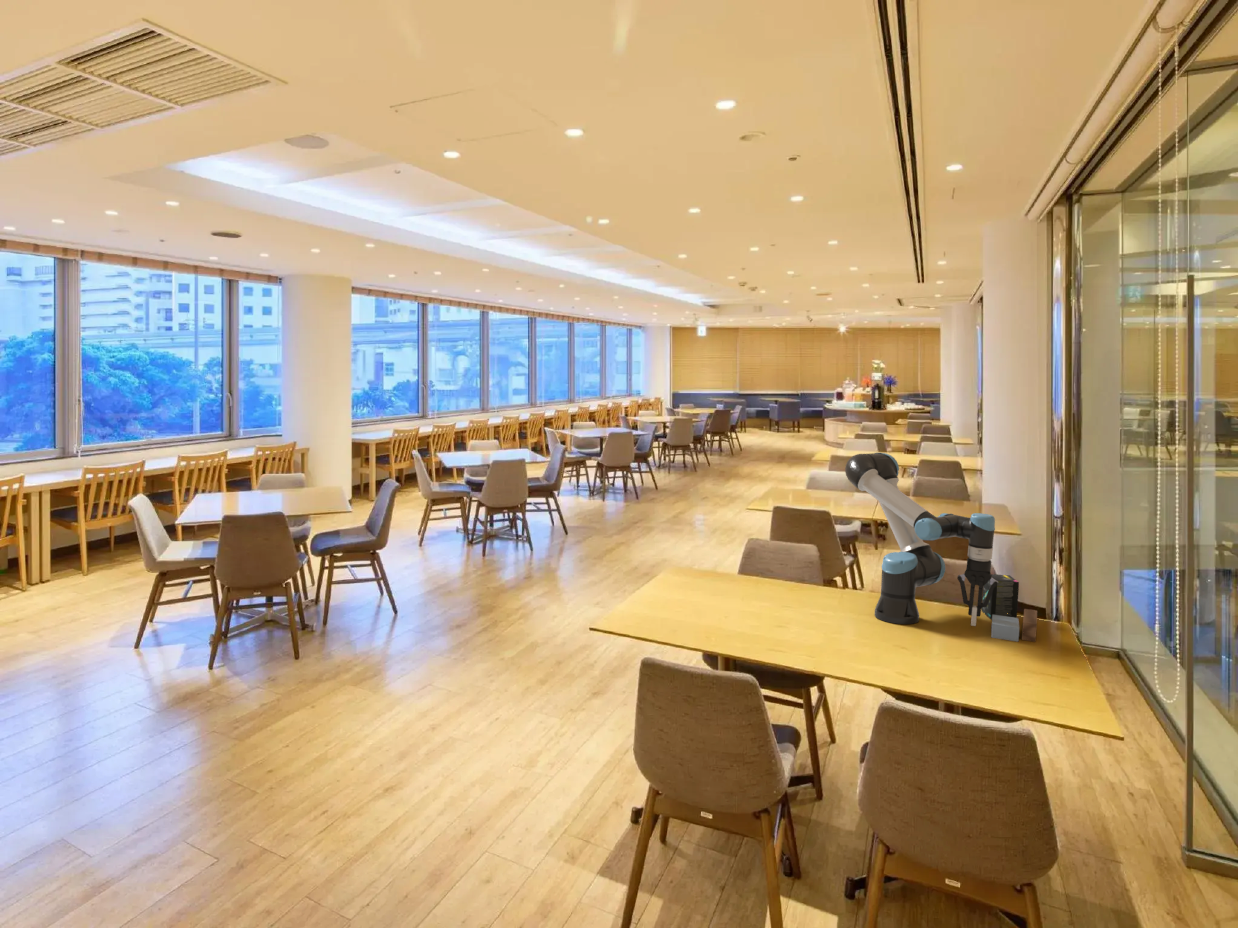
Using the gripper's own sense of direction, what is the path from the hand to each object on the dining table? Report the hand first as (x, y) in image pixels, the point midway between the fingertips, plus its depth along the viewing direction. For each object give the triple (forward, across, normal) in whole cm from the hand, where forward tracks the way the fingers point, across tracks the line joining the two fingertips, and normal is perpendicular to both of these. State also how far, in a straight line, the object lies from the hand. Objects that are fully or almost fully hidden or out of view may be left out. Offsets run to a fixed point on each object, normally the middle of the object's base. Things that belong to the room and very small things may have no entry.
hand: (973, 624), depth 254 cm
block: (+2, +10, 0) cm, 10 cm away
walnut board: (+1, +17, +5) cm, 18 cm away
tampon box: (+2, +7, +22) cm, 23 cm away
